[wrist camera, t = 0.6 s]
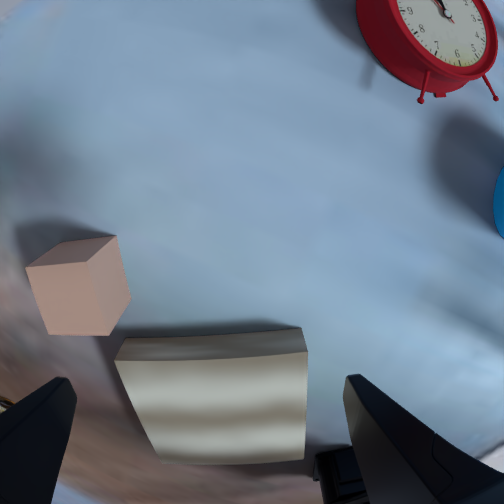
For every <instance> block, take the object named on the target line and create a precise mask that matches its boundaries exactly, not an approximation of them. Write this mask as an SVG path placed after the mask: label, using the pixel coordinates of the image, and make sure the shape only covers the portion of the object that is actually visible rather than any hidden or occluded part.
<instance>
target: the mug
mask: <svg viewBox="0 0 504 504" xmlns="http://www.w3.org/2000/svg"><path fill="white" fill-rule="evenodd" d="M493 213H494V219H495V225H496V227H497V229H498V231H499V234H500V235H501V236H502V237H503V238H504V167H503V168H502V170H501V172H500V175H499V177H498V179H497V182H496V187H495V191H494V198H493Z"/></svg>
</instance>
